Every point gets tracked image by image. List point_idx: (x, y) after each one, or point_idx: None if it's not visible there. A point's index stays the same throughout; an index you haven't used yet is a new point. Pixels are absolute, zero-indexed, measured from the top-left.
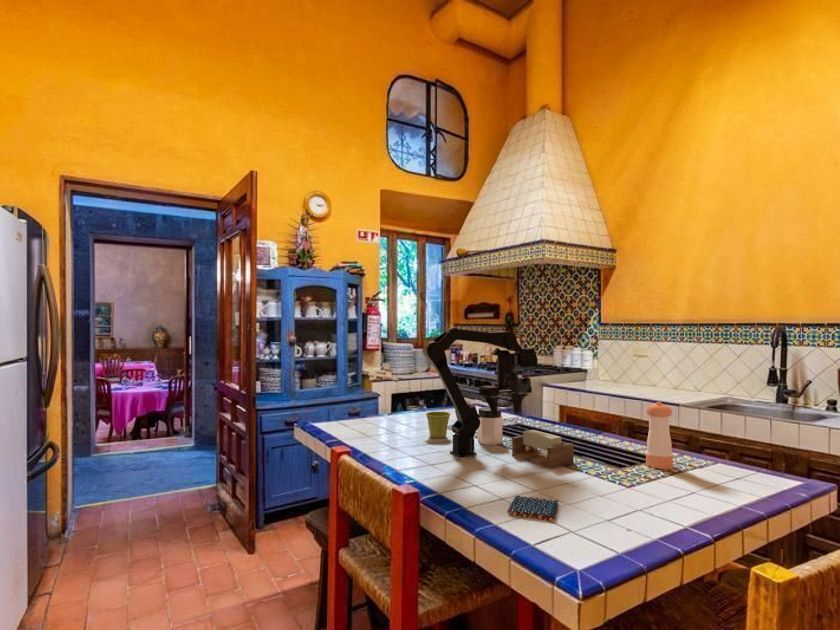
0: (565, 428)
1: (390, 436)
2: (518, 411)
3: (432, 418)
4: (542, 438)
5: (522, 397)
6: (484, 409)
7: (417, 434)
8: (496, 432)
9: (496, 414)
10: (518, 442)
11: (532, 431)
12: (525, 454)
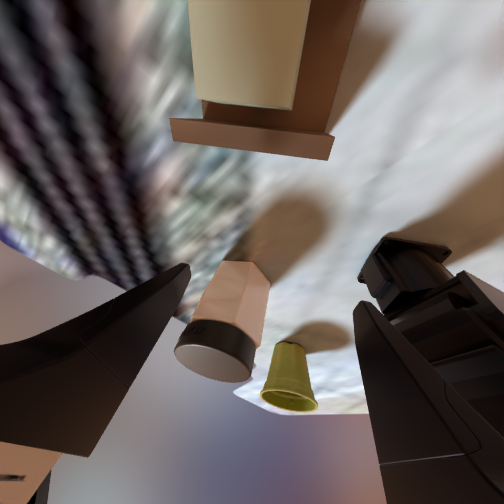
0: (24, 241)
1: (346, 385)
2: (168, 270)
3: (313, 396)
4: None
5: (14, 361)
6: (236, 372)
7: None
8: (237, 282)
9: (374, 313)
10: (305, 132)
11: (237, 49)
12: (304, 85)
